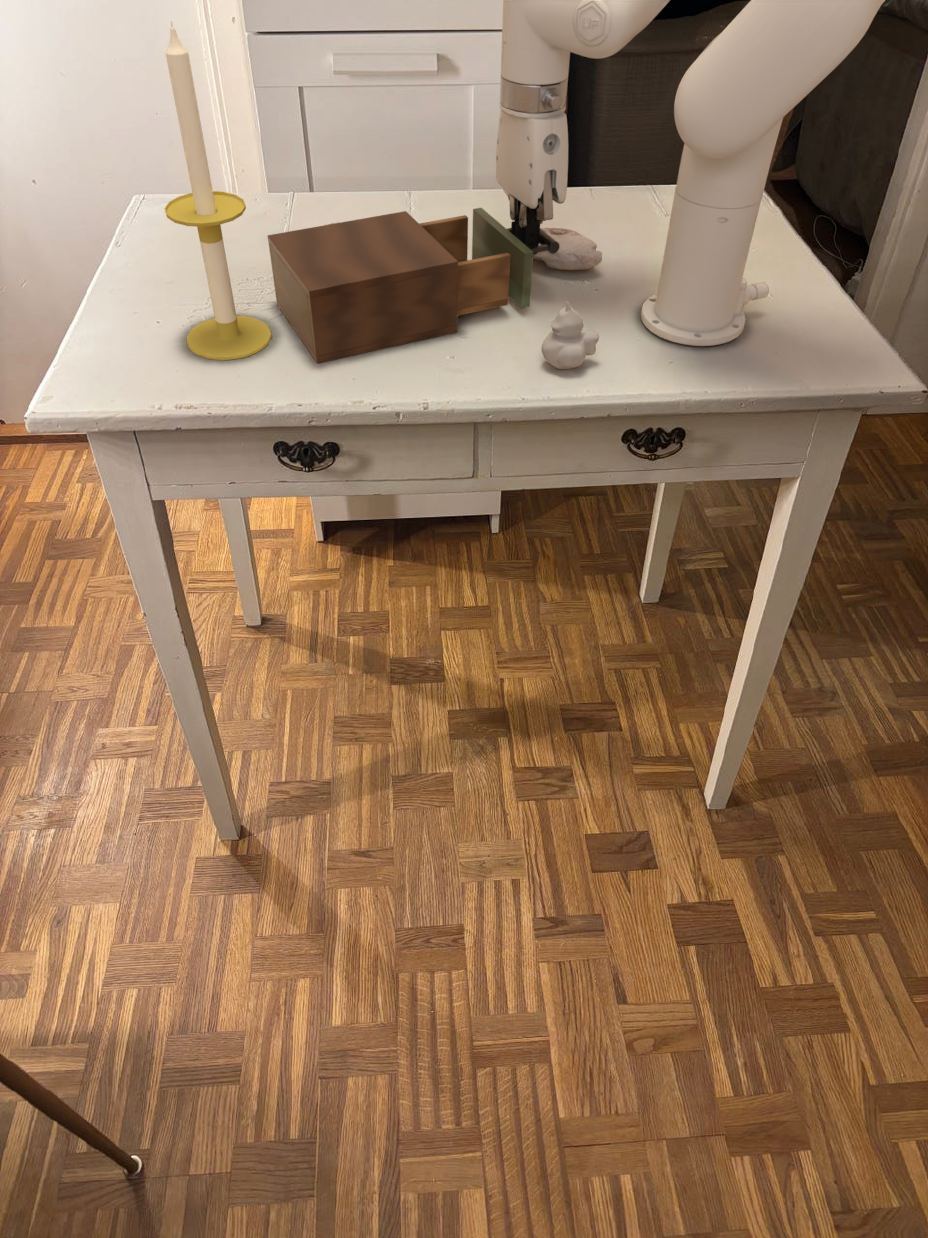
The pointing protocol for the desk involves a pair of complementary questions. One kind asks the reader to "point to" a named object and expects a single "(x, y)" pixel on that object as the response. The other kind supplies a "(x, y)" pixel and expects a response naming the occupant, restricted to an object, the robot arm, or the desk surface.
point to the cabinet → (364, 285)
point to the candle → (208, 227)
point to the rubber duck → (568, 340)
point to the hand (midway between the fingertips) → (524, 253)
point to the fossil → (570, 251)
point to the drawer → (488, 261)
